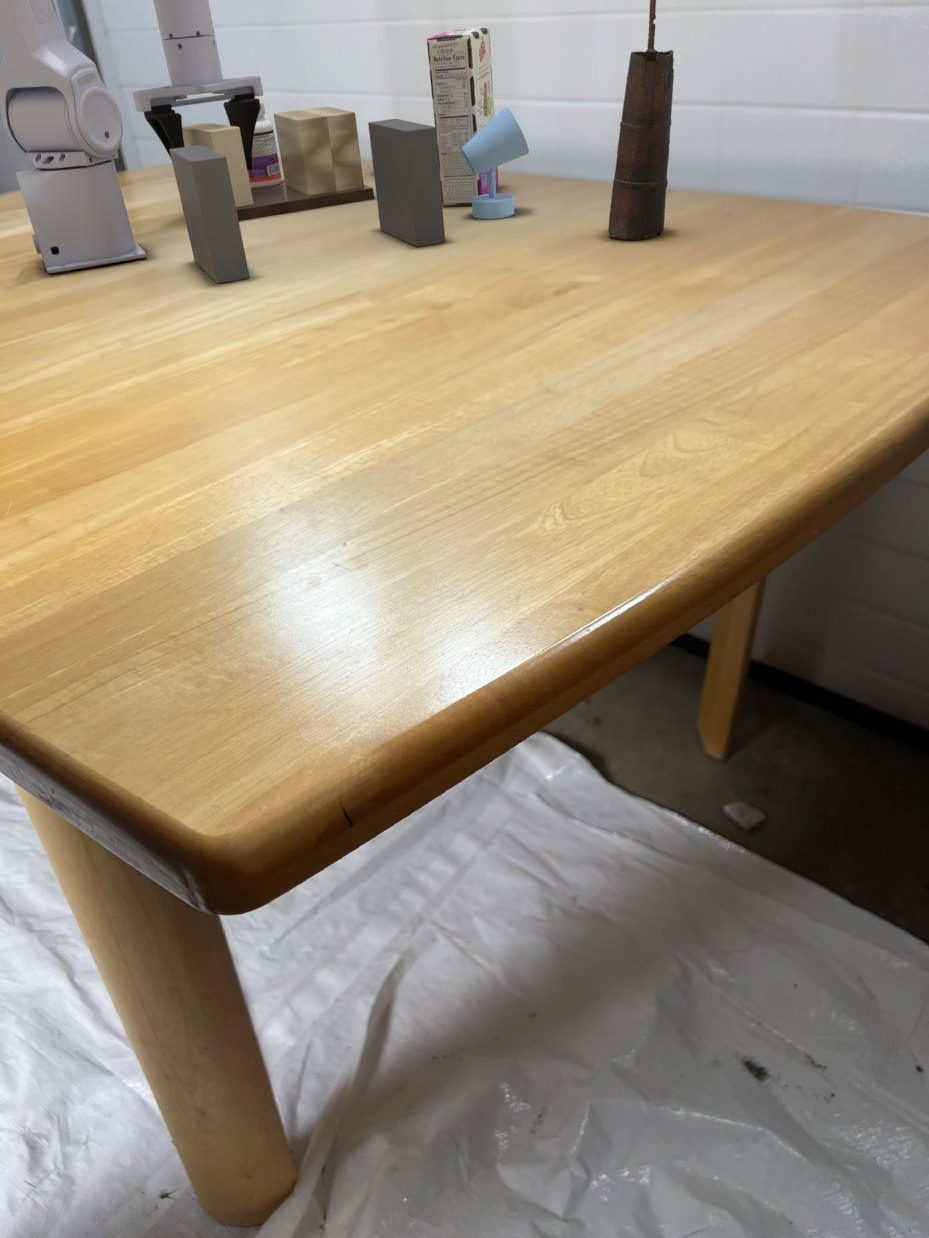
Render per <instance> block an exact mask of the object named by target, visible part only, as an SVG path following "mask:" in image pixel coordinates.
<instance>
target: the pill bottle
mask: <svg viewBox="0 0 929 1238" xmlns="http://www.w3.org/2000/svg"><path fill="white" fill-rule="evenodd" d="M265 115H266V109H265V105H264V101H261V100H260V111H259V114H258V118H257V122H256V126H255V131H254V137H253V146H252V169H249V170H247V171H248V177H249V182H250V187H251V189H256V188H263V187H269V186H276V185H280V184H281V183H282V181H283V179H282V173H281V167H280V166H281V165H280V161H279V154H278V150H277V145H276V144H277V142H276V136H275V130H274V126H273V123H272V122H271V121H270V120H268V119H266V118H265Z"/></svg>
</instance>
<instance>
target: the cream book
mask: <svg viewBox="0 0 929 1238" xmlns="http://www.w3.org/2000/svg"><path fill="white" fill-rule="evenodd" d="M182 130H183V139H184V146H185V147H189V146H197V145H202V146H204V147H206V148H208V149H211V150H213V151H215V152H217V153H219V154H221V155H223V156H226V159H227V164H228V169H229V174H230V179H231V185H232V190H233V195H234V200H235V205H236V208H238V207H243V206H248V205H253V204H254V203H253V198H252V193H251V189H252V188H251V187H250V182H249V177H248V171H247V166H246V161H245V155H244V150H243V144H242V139H241V134H240V128H239V127H234V126H230V125H226V124H220V123H211V122H203V121H202V122H196V123H190V124H184V125H183V124H182Z"/></svg>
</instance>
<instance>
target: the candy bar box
mask: <svg viewBox="0 0 929 1238" xmlns="http://www.w3.org/2000/svg"><path fill="white" fill-rule="evenodd" d="M490 38H491V35H490V27H488V26H478V27H466V28H455V29H452V30H448V31H445V32H442V33H438V34H436V35H433V36H431V37H428V38H426V47H427V55H428V66H429V67H428V68H429V79H430V87H431V89H430V90H431V99H432V100H431V101H432V109H433V119H434V127H436V130H437V143H438V156H439V168H440V181H441V194H442V206H443V207H460V206H462V207H463V206H464V207H465V206H472V198H474V197H476V196H479V195H484V194H489V185H488V173H487V172H486V171H485V172H482V173H480V174H477V175H474V174H473V172H472V171H471V169H470V167H469V165H468V164H467V162H466V160H465V158H464V155H463V153H462V150H461V148H462V147H463V146H464V145H465V144H467V143H468V142H469V141H470V140H471V139H472V138H473V137H474V136H475V135H476V134H477V133H478V132H479V131H480V130H481V129H482V128H483V127H484V126H485V125H486V124H487V123H488V122H489V121H490V120H492V119H493V118H494V117H495V106H494V104H495V102H494V88H493V71H492V70H493V69H492V55H491V53H492V52H491V41H490V40H491V39H490ZM498 169H499V168H498V166H497V167H494V170H495V179H496V188H497V187H498V186H499V184H500V183H499V170H498Z"/></svg>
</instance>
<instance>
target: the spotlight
mask: <svg viewBox="0 0 929 1238" xmlns="http://www.w3.org/2000/svg"><path fill="white" fill-rule="evenodd" d="M461 150H462V153H463V155H464V158H465V160H466V162H467V164H468V165H469V167H470V169H471V171H472V172H473V174H474V175H477V174H480V173H482V172H485V171H486V172H487V173H488V185H489V194H484V195H479V196H476V197H474V198H472V205H471V210H472V211H471V212H472V218H475V219H480V220H482V219H483V220H495V219H502V218H507V217H511V216H513V215H515V196H514V195H513V194H511V193H506V192H504V193H503V192H502V193H501V192H498V193H497V187H496V179H495V170H494V167H497V168H498V167H499V166H501V165H504V164H507V163H509V162H511V161H514V160H516V159H519V158H521V157H523V156H526V155H529V153H530V149H529V146H528V143H527V140H526V137H525V135H524V132H523V130H522V129H521V127H520V125H519V123H518V121H517V119H516V117H515V116H514V114H513V113H512V111H511V110H510V108H508V107H507V106H505V105H504V107H503V108H502V109H501V110H500V111H499V112H498V113H497V114H495V115H494V118H493V119H492V120H490V121H489V122H488V123H487V124H486V125H485V126H484V127H483V128H482V129H481V130H480V131H479V132H478V133H477V134H476V135H475V136H474V137H473V138H472V139H471V140H470V141H469V142H468V143H467V144H465V145H464V146H463V147H462V148H461Z"/></svg>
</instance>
